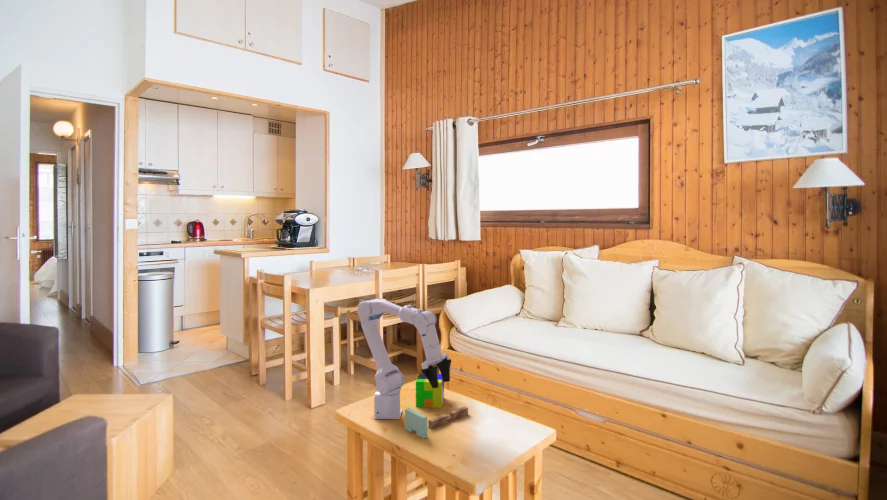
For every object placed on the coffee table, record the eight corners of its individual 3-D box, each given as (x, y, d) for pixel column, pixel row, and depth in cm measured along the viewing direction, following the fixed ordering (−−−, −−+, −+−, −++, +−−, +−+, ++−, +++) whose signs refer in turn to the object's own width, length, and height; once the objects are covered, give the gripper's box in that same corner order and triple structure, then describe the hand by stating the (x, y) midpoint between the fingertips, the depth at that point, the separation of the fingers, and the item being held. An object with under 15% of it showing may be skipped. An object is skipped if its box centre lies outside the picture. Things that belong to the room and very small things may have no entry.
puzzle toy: (443, 398, 191) (443, 374, 190) (441, 407, 181) (441, 382, 180) (419, 397, 192) (419, 373, 191) (415, 406, 182) (415, 381, 181)
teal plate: (427, 436, 156) (427, 416, 156) (423, 438, 155) (423, 418, 155) (408, 427, 164) (408, 407, 163) (404, 428, 162) (404, 409, 162)
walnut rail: (431, 429, 162) (431, 421, 162) (428, 427, 163) (428, 420, 163) (467, 414, 174) (467, 407, 174) (464, 412, 176) (464, 406, 175)
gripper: (429, 348, 153) (440, 389, 151) (451, 339, 165) (461, 377, 163) (412, 351, 156) (422, 391, 155) (435, 342, 169) (444, 379, 167)
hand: (441, 384), depth 159 cm, fingers open, 7 cm apart
